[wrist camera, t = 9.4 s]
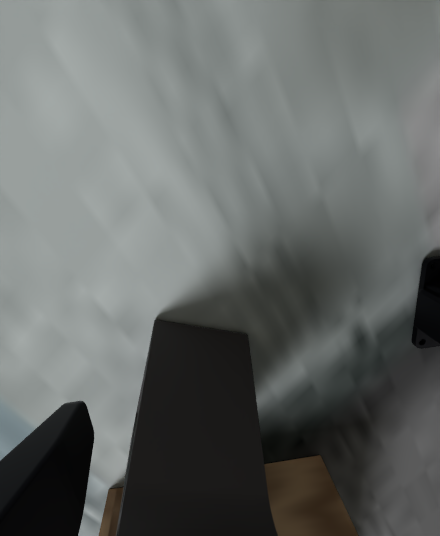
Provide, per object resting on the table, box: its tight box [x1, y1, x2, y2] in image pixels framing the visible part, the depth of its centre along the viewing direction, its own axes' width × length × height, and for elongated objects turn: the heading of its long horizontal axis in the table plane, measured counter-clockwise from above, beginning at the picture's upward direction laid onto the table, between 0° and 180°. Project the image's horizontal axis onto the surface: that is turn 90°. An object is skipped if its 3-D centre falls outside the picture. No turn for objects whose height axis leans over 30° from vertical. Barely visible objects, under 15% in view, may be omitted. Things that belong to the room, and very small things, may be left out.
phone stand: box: [116, 320, 278, 536], centre depth 16 cm, size 9×6×12 cm, turn 166°
